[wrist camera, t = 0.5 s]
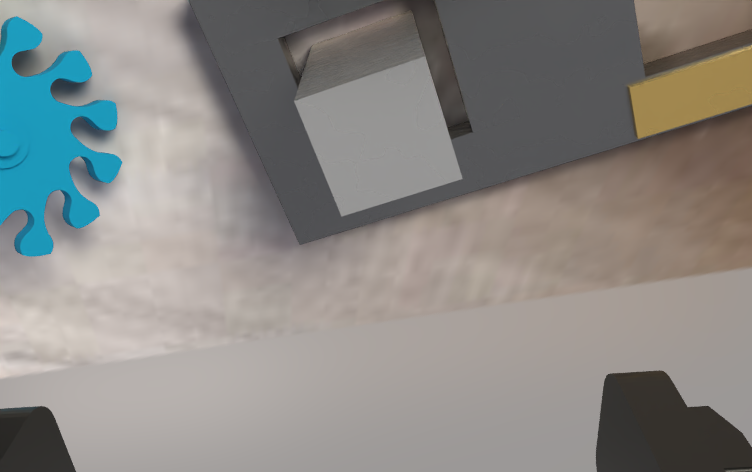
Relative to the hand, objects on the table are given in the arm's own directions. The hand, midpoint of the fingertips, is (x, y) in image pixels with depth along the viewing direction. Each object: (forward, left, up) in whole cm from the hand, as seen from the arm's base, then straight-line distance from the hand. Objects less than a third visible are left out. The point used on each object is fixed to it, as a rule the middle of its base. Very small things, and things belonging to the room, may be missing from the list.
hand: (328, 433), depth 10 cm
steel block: (-1, +1, -22) cm, 22 cm away
